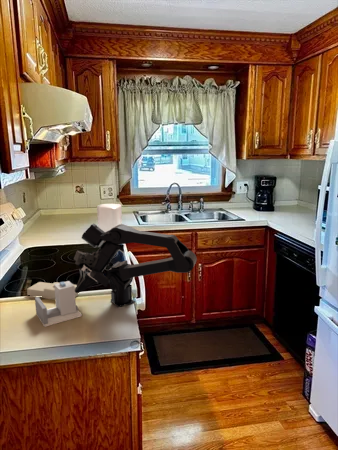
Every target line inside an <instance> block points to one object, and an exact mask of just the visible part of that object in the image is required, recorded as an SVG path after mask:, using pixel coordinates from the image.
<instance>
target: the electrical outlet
mask: <svg viewBox="0 0 338 450" xmlns="http://www.w3.org/2000/svg"><path fill="white" fill-rule="evenodd" d="M57 283H59V282H57V281H56V282H55V281H54V282H53V283H52V282H51V283H50V282H43V281H38V282H37V283H34V284H33V285H32V286H29V287H27V288H26V293H27V296H28V295H30V296H29V297H33V296H42V297H44V298H43V299H48V300H54V301H55V288H54V284H57ZM72 284H73V285H74V287H75V288H76V286H77V284H74V283H72ZM77 296H79V295H78V293H76V292H75V298H76V297H77Z"/></svg>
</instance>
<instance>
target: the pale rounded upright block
mask: <svg viewBox="0 0 338 450" xmlns="http://www.w3.org/2000/svg"><path fill="white" fill-rule="evenodd" d="M96 208H97V209H96V211H97V226H98V227H99V228H100V229H101V230H103V231H104V232H107V231H109V230H111V229H112V228H114V227H116V226H117V225H120V224H123V219H122V217H123V215H122V214H123V213H122V212H123V211H122V204H119V203H101V204H98V205H97V206H96Z"/></svg>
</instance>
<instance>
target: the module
mask: <svg viewBox="0 0 338 450" xmlns="http://www.w3.org/2000/svg"><path fill="white" fill-rule="evenodd" d="M73 284H74V283H72V282H71V281H70V280H67V281H60V282H58V283H57V284H54V288H55V300H54V301H55V307H56V308H58V310H59V311H60V314H61V316H62V315H66V314H69V313H73V312H76V305H77V303H76V297H75V287H74V285H75V284H74V285H73Z"/></svg>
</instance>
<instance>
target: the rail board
mask: <svg viewBox="0 0 338 450" xmlns="http://www.w3.org/2000/svg"><path fill="white" fill-rule="evenodd" d="M41 299H42V298H40V297H34V304H35V315H36V317H38V319H39V320H40V322H41V325H43V327H48V326H53V325H56V324H58V323H62V322H66V321H70V320H73V319H77V318H81V317H82V313H81V311H79V307H78V305H77V304H76V312H73V313H69V314H66V315H62V316H61V314H60V311H59V310H58V308H56V306H55V307H50V308H47V307H46V305H45V303H44V302H43V301H42V300H41Z"/></svg>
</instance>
